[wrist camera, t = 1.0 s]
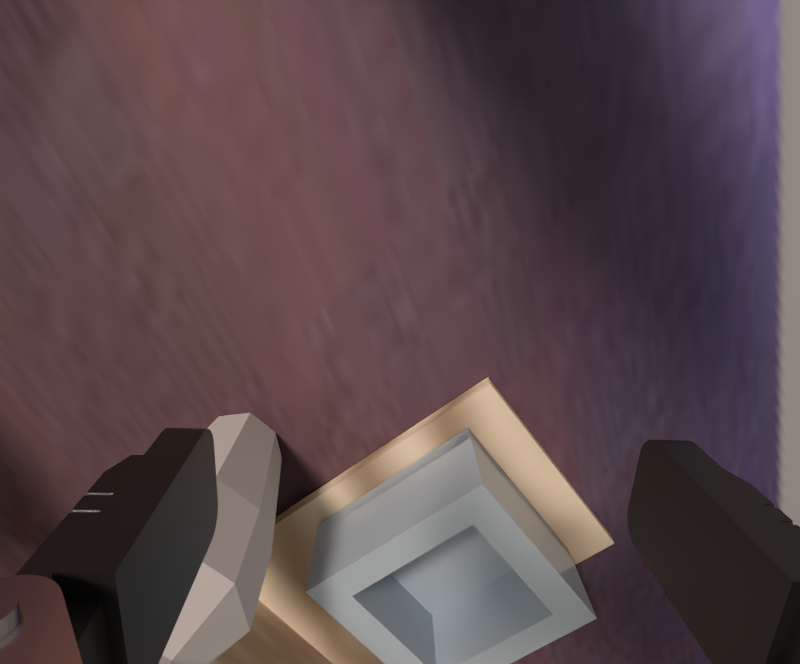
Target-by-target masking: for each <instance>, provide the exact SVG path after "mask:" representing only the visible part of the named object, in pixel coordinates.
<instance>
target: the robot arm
mask: <svg viewBox="0 0 800 664" xmlns="http://www.w3.org/2000/svg"><path fill="white" fill-rule="evenodd" d="M217 515H218V495H217V481H216V466H215V452H214V439H213V435H212V432H211V430H210V429H191V428H166V429H164V430H163V431H162V432H161V434H160V435H159V436H158V438H157V439H156V440H155V441H154V443H153V444H152V445H151V447H150V448H149V449H148V450H147V452H146V453H145V454H144V455H131V456H129V457H128V458H126V459H125V460H123V461H121V462H120V463H118V464H116V465H115V466H113V467H112V468H110V469H108V470H107V471H105V472H104V473H103V474H102V476H101V477H100V478H99V479H98V480H97V481H96V483H95V484H94V485H93V486H92V487H91V488H90V489H89V491H88V494H87V496H83V498H82V499H81V500H80V501H79V502H78V503H77V505H76V506H75V507H74V508H73V512H72V513H69V514H68V515H67V516H66V517H65V518H64V520H63V521H62V522H61V523H60V524H59V525H58V526H57V528H56V529H55V530H54V531H53V532H52V533H51V535H50V536H49V537H48V538H47V539H46V540H45V542H44V543H43V544H42V545H41V546H40V547H39V548H38V550H37V551H36V552H35V553H34V554H33V555H32V557H31V558H30V559H29V560H28V561H27V562H26V564H25V565H24V566H23V567H22V568H21V569H20V570H19V572H18V573H17V574H16V575H15V576H9V577H5V578H0V664H159V661H160V659H161V657H162V655H163V652H164V650H165V648H166V645H167V643H168V641H169V638H170V636H171V634H172V631H173V629H174V627H175V624H176V622H177V620H178V617H179V615H180V613H181V611H182V608H183V606H184V604H185V601H186V599H187V597H188V594H189V592H190V590H191V587H192V585H193V583H194V580H195V578H196V576H197V574H198V571H199V569H200V567H201V564H202V562H203V560H204V557H205V555H206V553H207V550H208V548H209V546H210V543H211V541H212V539H213V536H214V532H215V528H216V523H217ZM628 528H629V533H630V536H631V539H632V542H633V544H634V546H635V547H636V549H637V550H638V552H639V553H640V555H641V556H642V558H643V559H644V561H645V562H646V564H647V566H648V567H649V569H650V570H651V572H652V573H653V575H654V576H655V578H656V579H657V581H658V582H659V584H660V585H661V587H662V588H663V590H664V591H665V593H666V594H667V596H668V597H669V599H670V600H671V602H672V604H673V605H674V607H675V608H676V610H677V611H678V613H679V614H680V616H681V617H682V619H683V620H684V622H685V623H686V625H687V626H688V628H689V629H690V631H691V632H692V634H693V635H694V637H695V639H696V640H697V642H698V643H699V645H700V646H701V648H702V649H703V651H704V652H705V654H706V655H707V657H708V658H709V660H710V661H711V663H712V664H800V527H799V526H798V525H793V523H792V520H791V519H790V518H789V517H787V516H786V515H785V514H784V513H783V512H782V511H781V510H780V509H778V508H774V504H773V503H772V502H770V501H769V500H768V499H767V498H766V497H765V496H764V495H763V494H761V493H760V492H759V491H758V490H757V489H756V488H755V487H753V486H752V485H751V484H749V483H747V482H746V481H744V480H742V479H740V478H739V477H737V476H735V475H733V474H732V473H730V472H728V471H726V470H724V469H723V468H721V467H720V466H719V465H718V464H717V463H716V462H715V461H714V460H713V459H712V458H710V457H709V456H708V455H707V454H706V453H705V452H704V451H703V450H702V449H701V448H699V447H698V446H697V445H696V444H695V443H693V442H691V441H677V440H648V441H647V442H645V443H644V445H643V446H642V449H641V452H640V456H639V461H638V465H637V470H636V475H635V480H634V484H633V489H632V494H631V498H630V503H629V508H628Z"/></svg>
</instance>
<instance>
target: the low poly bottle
mask: <svg viewBox="0 0 800 664" xmlns="http://www.w3.org/2000/svg"><path fill="white" fill-rule="evenodd" d="M207 429H210V430H211V432H212V435H213V439H214V452H215V466H216V481H217V495H218V515H217V523H216V528H215V532H214V536H213V539H212V541H211V543H210V546H209V548H208V550H207V553H206V555H205V557H204V560H203V562H202V564H201V567H200V569H199V571H198V574H197V576H196V578H195V580H194V583H193V585H192V587H191V590H190V592H189V594H188V597H187V599H186V601H185V604H184V606H183V608H182V611H181V613H180V615H179V617H178V620H177V622H176V624H175V627H174V629H173V631H172V634H171V636H170V638H169V641H168V643H167V645H166V648H165V650H164V652H163V655H162V657H161V659H160V661H159V664H210V663H212V662H213V661H214V660H215V659H217V658H218V657H219V656H220V655H221V654H223V653H224V652H225V651H226V650H227V649H229V648H230V647H231V646H232V645H233V644H235V643H236V642H237V641H238V640H239V639H241V638H242V637H243V636H244V635H245V634H247V633H248V632H249V631H250V628H251V625H252V621H253V618H254V614H255V610H256V607H257V603H258V600H259V596H260V592H261V589H262V585H263V582H264V578H265V574H266V571H267V567H268V563H269V560H270V556H271V553H272V544H273V535H274V526H275V517H276V508H277V498H278V489H279V480H280V471H281V462H282V457H281V453H280V449H279V445H278V441H277V436H276V432H275V431H274V430H272V429H271V428H270V427H268V426H267V425H266V424H265V423H263V422H262V421H261V420H259V419H258V418H257V417H256V416H254V415H253V414H252V413H243V414H235V415H226V416H219V417H218V418H217V419H216V420H215V421H214V422H213V423H212V424H211V425H210V426H209V427H208V428H207Z"/></svg>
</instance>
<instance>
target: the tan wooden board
mask: <svg viewBox="0 0 800 664" xmlns="http://www.w3.org/2000/svg"><path fill="white" fill-rule="evenodd" d="M467 428H469V429H470V431H471V432H472V433H473V434H474V435H475V437H476V438H477V439H478V440H479V442H480V443H481V444H482V445H483V446H484V448H485V449H486V450H487V451H488V452H489V454H490V455H491V456H492V457H493V459H494V460H495V461H496V462H497V463H498V465H499V466H500V467H501V468H502V469H503V471H504V472H505V473H506V474H507V476H508V477H509V478H510V479H511V480H512V482H513V483H514V484H515V485H516V486H517V488H518V489H519V490H520V491H521V492H522V494H523V495H524V496H525V497H526V499H527V500H528V501H529V502H530V503H531V505H532V506H533V507H534V508H535V509H536V511H537V512H538V513H539V514H540V516H541V517H542V518H543V519H544V520H545V522H546V523H547V524H548V525H549V526H550V528H551V529H552V530H553V531H554V533H555V534H556V535H557V536H558V537H559V539H560V540H561V541H562V542H563V543H564V545H565V546H566V547H567V548H568V550H569V552H570V555H571V557H572V560H573V562H574V564H575V565H576V564H578V563H580V562H582V561H583V560H585V559H587V558H589V557H591V556H592V555H594V554H596V553H598V552H600V551H602V550H603V549H605V548H607V547H609V546H611V545H612V544H614V541H613V540H612V538H611V536H610V534H609V533H608V531H607V530H606V529H605V528H604V526H603V525H602V524H601V522H600V521H599V520H598V518H597V517H596V516H595V515H594V513H593V512H592V511H591V509H590V508H589V507H588V506H587V504H586V503H585V502H584V500H583V499H582V498H581V497H580V495H579V494H578V493H577V491H576V490H575V489H574V488H573V486H572V485H571V484H570V482H569V481H568V480H567V479H566V477H565V476H564V475H563V473H562V472H561V471H560V470H559V468H558V467H557V466H556V464H555V463H554V462H553V460H552V459H551V458H550V457H549V455H548V454H547V453H546V451H545V450H544V449H543V448H542V446H541V445H540V444H539V442H538V441H537V440H536V439H535V437H534V436H533V435H532V433H531V432H530V431H529V430H528V428H527V427H526V426H525V424H524V423H523V422H522V421H521V419H520V418H519V417H518V415H517V414H516V413H515V412H514V410H513V409H512V408H511V406H510V405H509V404H508V403H507V401H506V400H505V399H504V397H503V396H502V395H501V393H500V392H499V391H498V390H497V388H496V387H495V386H494V384H493V383H492V382H491V381H490V379H489V378H488V377H487V378H486V379H484V380H483V381H481V382H480V383H478V384H477V385H475V386H474V387H472V388H471V389H469V390H467V391H466V392H464V393H463V394H461V395H460V396H458V397H457V398H455V399H454V400H452V401H451V402H449V403H448V404H446V405H445V406H443V407H442V408H440V409H439V410H437V411H436V412H434V413H433V414H431V415H430V416H428V417H427V418H425V419H424V420H422V421H420V422H419V423H417V424H416V425H414V426H413V427H411V428H410V429H408V430H407V431H405V432H404V433H402V434H401V435H399V436H398V437H396V438H395V439H393V440H392V441H390V442H389V443H387V444H386V445H384V446H383V447H381V448H380V449H378V450H377V451H375V452H373V453H372V454H370V455H369V456H367V457H366V458H364V459H363V460H361V461H360V462H358V463H357V464H355V465H354V466H352V467H351V468H349V469H348V470H346V471H345V472H343V473H342V474H340V475H339V476H337V477H336V478H334V479H333V480H331V481H330V482H328V483H327V484H325V485H323V486H322V487H320V488H319V489H317V490H316V491H314V492H313V493H311V494H310V495H308V496H307V497H305V498H304V499H302V500H301V501H299V502H298V503H296V504H295V505H293V506H292V507H290V508H289V509H287V510H286V511H284V512H283V513H281V514H280V515H278V516H276V517H275V526H274V535H273V544H272V553H271V556H270V560H269V563H268V567H267V571H266V574H265V578H264V582H263V585H262V589H261V592H260V596H259V600H258V603H257V607H256V610H255V614H254V618H253V621H252V625H251V628H250V631H249V632H248V633H247V634H245V635H244V636H243V637H242V638H241V639H239V640H238V641H237V642H236V643H235V644H233V645H232V646H231V647H230V648H229V649H227V650H226V651H225V652H224V653H223V654H221V655H220V656H219V657H218V658H217V659H215V660H214V661H213V662H212V663H210V664H385V663H383V662H382V661H381V660H380V659H379V658H378V657H377V656H376V655H375V654H373V653H372V652H371V651H370V650H369V649H368V648H367V647H366V646H365V645H363V644H362V643H361V642H360V641H359V640H358V639H357V638H356V637H355V636H354V635H352V634H351V633H350V632H349V631H348V630H347V629H346V628H345V627H344V626H342V625H341V624H340V623H339V622H338V621H337V620H336V619H335V618H334V617H333V616H331V615H330V614H329V613H328V612H327V611H326V610H325V609H324V608H323V607H321V606H320V605H319V604H318V603H317V602H316V601H315V600H314V599H313V598H311V597H310V596H309V595H308V594H307V593H306V587H307V582H308V576H309V570H310V565H311V559H312V554H313V548H314V543H315V537H316V532H317V526H318V524H319V523H321V522H322V521H324V520H325V519H327V518H329V517H330V516H332V515H333V514H335V513H336V512H338V511H339V510H341V509H343V508H344V507H346V506H347V505H349V504H350V503H352V502H353V501H355V500H357V499H358V498H360V497H361V496H363V495H364V494H366V493H367V492H369V491H371V490H372V489H374V488H375V487H377V486H378V485H380V484H381V483H383V482H385V481H386V480H388V479H389V478H391V477H392V476H394V475H396V474H397V473H399V472H400V471H402V470H403V469H405V468H406V467H408V466H410V465H411V464H413V463H414V462H416V461H417V460H419V459H420V458H422V457H424V456H425V455H427V454H428V453H430V452H431V451H433V450H434V449H436V448H438V447H439V446H441V445H442V444H444V443H445V442H447V441H448V440H450V439H452V438H453V437H455V436H456V435H458V434H459V433H461V432H462V431H464V430H466V429H467Z"/></svg>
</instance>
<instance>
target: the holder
mask: <svg viewBox="0 0 800 664" xmlns="http://www.w3.org/2000/svg"><path fill="white" fill-rule="evenodd" d="M306 593H307V594H308V595H309V596H310V597H311V598H313V599H314V600H315V601H316V602H317V603H318V604H319V605H320V606H321V607H323V608H324V609H325V610H326V611H327V612H328V613H329V614H330V615H331V616H333V617H334V618H335V619H336V620H337V621H338V622H339V623H340V624H341V625H342V626H344V627H345V628H346V629H347V630H348V631H349V632H350V633H351V634H352V635H354V636H355V637H356V638H357V639H358V640H359V641H360V642H361V643H362V644H363V645H365V646H366V647H367V648H368V649H369V650H370V651H371V652H372V653H373V654H375V655H376V656H377V657H378V658H379V659H380V660H381V661H382V662H383V663H385V664H510V663H512V662H514V661H516V660H518V659H520V658H522V657H524V656H526V655H528V654H530V653H532V652H533V651H535V650H537V649H539V648H541V647H543V646H545V645H547V644H549V643H551V642H553V641H555V640H557V639H558V638H560V637H562V636H564V635H566V634H568V633H570V632H572V631H574V630H576V629H578V628H580V627H581V626H583V625H585V624H587V623H589V622H591V621H593V620H595V619H597V617H596V615H595V613H594V610H593V608H592V605H591V603H590V600H589V598H588V596H587V593H586V591H585V588H584V586H583V584H582V581H581V579H580V576H579V574H578V572H577V569H576V567H575V564H574V562H573V560H572V557H571V555H570V552H569V550H568V548H567V547H566V546H565V545H564V543H563V542H562V541H561V540H560V539H559V537H558V536H557V535H556V534H555V533H554V531H553V530H552V529H551V528H550V526H549V525H548V524H547V523H546V522H545V520H544V519H543V518H542V517H541V516H540V514H539V513H538V512H537V511H536V509H535V508H534V507H533V506H532V505H531V503H530V502H529V501H528V500H527V499H526V497H525V496H524V495H523V494H522V492H521V491H520V490H519V489H518V488H517V486H516V485H515V484H514V483H513V482H512V480H511V479H510V478H509V477H508V476H507V474H506V473H505V472H504V471H503V469H502V468H501V467H500V466H499V465H498V463H497V462H496V461H495V460H494V459H493V457H492V456H491V455H490V454H489V452H488V451H487V450H486V449H485V448H484V446H483V445H482V444H481V443H480V442H479V440H478V439H477V438H476V437H475V435H474V434H473V433H472V432H471V431H470V429H469V428H467V429H466V430H464V431H462V432H461V433H459V434H458V435H456V436H455V437H453V438H452V439H450V440H448V441H447V442H445V443H444V444H442V445H441V446H439V447H438V448H436V449H434V450H433V451H431V452H430V453H428V454H427V455H425V456H424V457H422V458H420V459H419V460H417V461H416V462H414V463H413V464H411V465H410V466H408V467H406V468H405V469H403V470H402V471H400V472H399V473H397V474H396V475H394V476H392V477H391V478H389V479H388V480H386V481H385V482H383V483H381V484H380V485H378V486H377V487H375V488H374V489H372V490H371V491H369V492H367V493H366V494H364V495H363V496H361V497H360V498H358V499H357V500H355V501H353V502H352V503H350V504H349V505H347V506H346V507H344V508H343V509H341V510H339V511H338V512H336V513H335V514H333V515H332V516H330V517H329V518H327V519H325V520H324V521H322V522H321V523H319V524H318V526H317V532H316V537H315V543H314V548H313V554H312V559H311V565H310V570H309V576H308V582H307V587H306Z"/></svg>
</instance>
